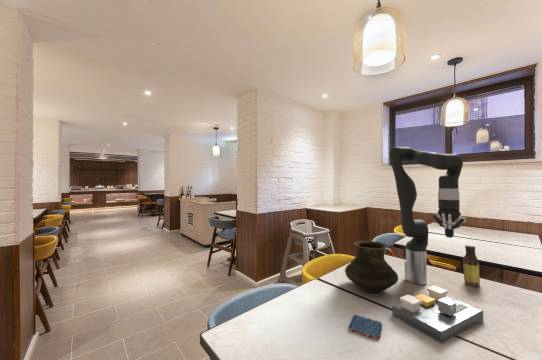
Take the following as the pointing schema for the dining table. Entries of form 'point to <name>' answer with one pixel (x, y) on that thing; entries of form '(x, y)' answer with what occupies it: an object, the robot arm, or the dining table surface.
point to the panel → (440, 319)
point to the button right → (437, 292)
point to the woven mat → (366, 327)
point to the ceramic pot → (371, 268)
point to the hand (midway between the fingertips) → (449, 237)
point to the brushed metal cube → (447, 306)
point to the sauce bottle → (471, 267)
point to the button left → (411, 303)
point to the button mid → (426, 299)
